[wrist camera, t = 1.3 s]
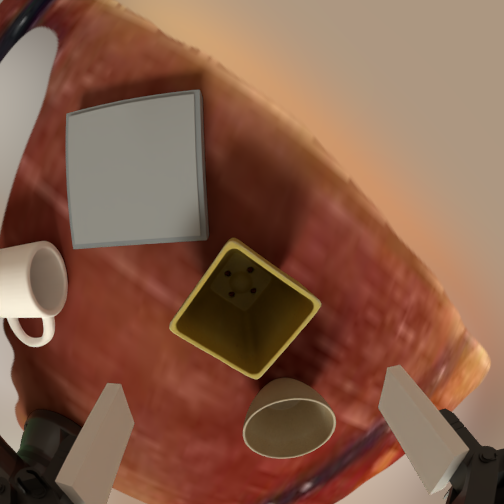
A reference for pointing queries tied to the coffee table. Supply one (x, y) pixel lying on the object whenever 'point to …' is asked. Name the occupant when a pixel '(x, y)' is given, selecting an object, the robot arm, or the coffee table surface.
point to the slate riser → (137, 171)
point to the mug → (32, 287)
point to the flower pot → (244, 310)
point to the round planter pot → (287, 420)
